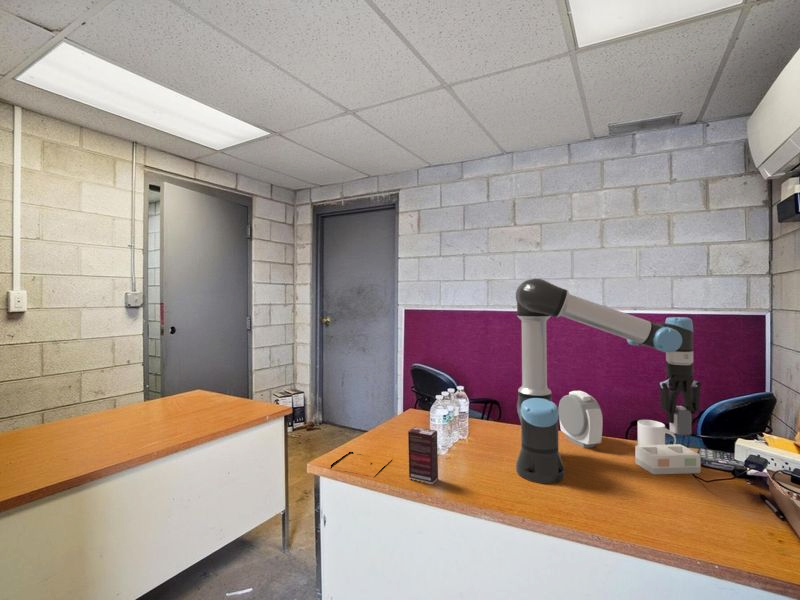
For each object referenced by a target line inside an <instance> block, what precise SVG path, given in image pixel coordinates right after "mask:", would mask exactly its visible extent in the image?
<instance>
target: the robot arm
mask: <svg viewBox="0 0 800 600" xmlns="http://www.w3.org/2000/svg"><path fill="white" fill-rule="evenodd" d="M515 300H516V314H517V315H516V317H517V318H518V319H519V320H520V321H521V386H520V387H519V388H518V389H517V403H516V410H517V411H516V412H517V414H518V418H519V421H520V430H521V431H520V433H521V434H520V437H521V438H520V439H521V448H520V451H519V453H518V457H517V459H516V464H515V466H516V467H515V470H516V473H517V474H518V475H519V476H520V477H521V476H522V477H521V478H523V479H525V480H528V481H531V482H534V483H540V484H556V483H560V482H562V481H563V480H564V479H565V477H566V476H565V467H564V464H563V461H562V457H561V455H560V452H559V420H560V418H559V411H558V409H559V407H558V406H557V404H556V403H555V402H553V401H552V399H553V397H552V390H551V389H550V388H548V367H547V366H548V360H547V359H548V358H547V357H548V355H547V353H548V352H547V350H548V348H547V342H548V341H547V321H548V320H549V319H550V318H551V317H553V318H560V317H563V318H566V319H569V320H570V321H571V320H572V321H575V322H577V323H581V324H583V325H586V326H589V327H591V328H595V329H596V330H597V329H598V330H601V331H603V332H605V333H609V334H611V335H614V336H617V337H620V338H623V339H626V341H627V343H628V344H629V345H630V346H638V347H639V346H645V347H648V348H650V349H654V350H657V351H660V352H662V353H665V361H666V362H667V363H665V370H666V371H665V372H666V375H667V376H666V378H665V379H666V380H663V381H658V386H659V390H660V407H661V408H660V410H661V411H664V412H666V413H667V423H669V430H670V431H671V432H673V434H674V435H675V434H676V435H678V430H677V414H675V410H676V406H677V403H678V398H679V395H680V394H681V397H682V402H683V407H685V408H686V409H687V410H690V411H691V423H693V422H694V415H695V414H696V413H697V412H699V411H700V393H701V392H700V391H701V387H702V382H701V381H697V380H694V377H693V376H694V364H693V363H694V324H693V319H691V318H690V317H682V316H681V317H679V316H677V317H675V316H673V317H672V316H671V317H666V319H665V322H663V323H655V322H651V321H650V320H646V319H644V318H641V317H638V316H634V315H632V314H629V313H625V312H623V311H619V310H617V309H614V308H612V307H609V306H605V305H602V304H599V303H596V302H594V301H590V300H588V299H585V298H582V297H579V296H576V295H573V294H570V292H569V290H568V289H565V288H563V287H560V286H557V285H555V284H552V283H551V282H549V281H547V280H544V279H541V278H529V279H527V280H525V281H523V282H522V283H520V284H519V286H517V288H516V292H515Z"/></svg>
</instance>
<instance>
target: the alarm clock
mask: <svg viewBox="0 0 800 600" xmlns="http://www.w3.org/2000/svg"><path fill="white" fill-rule="evenodd" d="M558 413H559V426H560V431H561V432H562V433H564V434H565V439H566V440H568V441H570V442H572V443H574V444H575V445H577V446H578V447H581V448H582V449H586V448H587V449H588V448H594V447H596V444H601V443H602V438H603V437H602V436H603V424H604V423H603V420H604V419H603V411H602V409H601V406H600V404H599V402H598V401H597V400H596V398H594V397H593V396H592V395H590V394H589V393H587V392H585V391H582V390H572V391H569V392H568V394H567V395H564V396H562V397H561V399H560V400H559V404H558Z"/></svg>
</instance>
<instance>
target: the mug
mask: <svg viewBox="0 0 800 600" xmlns="http://www.w3.org/2000/svg"><path fill="white" fill-rule="evenodd" d="M666 434H668V435H670V436H672V437H673V441H674V442H673V444H677V443H676V442H677V437H676V435H675V433H673V432H671V431H670V429H668V428H667V427H666V424H664V423H663V422H660V421H657V420H652V419H639V420H637V445H666Z"/></svg>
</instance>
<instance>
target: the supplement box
mask: <svg viewBox="0 0 800 600" xmlns="http://www.w3.org/2000/svg"><path fill="white" fill-rule="evenodd" d="M407 433H408V434H407V437H408V440H407V441H408V442H407V443H408V477H409V478H411V479H415V480H419V481H423V482H427V483H430V484H429V485H431V484H433V483H434V482H435V481H436V480H437V479H438V480H439V463H438V462H439V459H438V458H439V457H438V456H439V451H438V430H434V429H427V428H421V427H415V426H414V427H412V428H411V429H409V430H408V431H407ZM438 480H437V481H438ZM437 481H436V482H437ZM423 482H422V483H423ZM436 482H435V483H436ZM427 483H426V484H427ZM435 483H434V484H435ZM434 484H433V485H434Z"/></svg>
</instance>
